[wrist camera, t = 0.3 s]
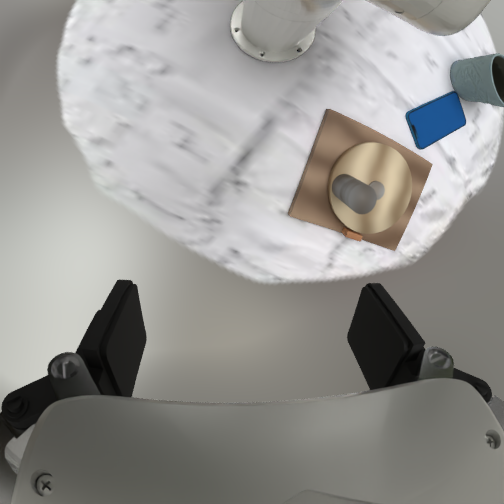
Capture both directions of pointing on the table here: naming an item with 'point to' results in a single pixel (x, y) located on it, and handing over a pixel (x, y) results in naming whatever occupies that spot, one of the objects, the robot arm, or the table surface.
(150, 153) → the table surface
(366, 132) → the board
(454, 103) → the smartphone
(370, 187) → the dial
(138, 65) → the table surface
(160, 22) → the table surface
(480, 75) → the grey-green cup
